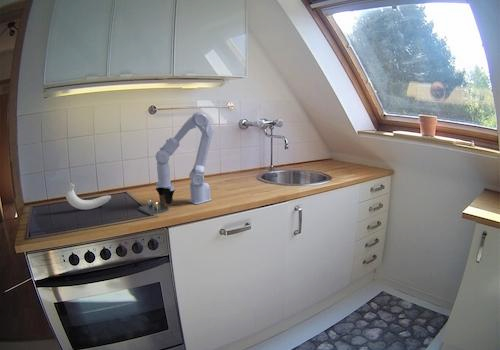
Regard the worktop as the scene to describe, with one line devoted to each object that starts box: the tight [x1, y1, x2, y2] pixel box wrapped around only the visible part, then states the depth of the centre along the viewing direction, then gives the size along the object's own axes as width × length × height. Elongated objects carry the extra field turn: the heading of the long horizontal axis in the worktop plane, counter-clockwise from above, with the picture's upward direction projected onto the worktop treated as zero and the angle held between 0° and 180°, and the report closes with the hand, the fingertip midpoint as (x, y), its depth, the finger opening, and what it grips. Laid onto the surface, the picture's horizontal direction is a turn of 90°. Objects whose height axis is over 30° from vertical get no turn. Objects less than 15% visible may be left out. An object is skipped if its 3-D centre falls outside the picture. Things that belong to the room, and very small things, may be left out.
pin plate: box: [138, 198, 170, 216], centre depth 153 cm, size 9×12×4 cm
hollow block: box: [158, 194, 174, 208], centre depth 159 cm, size 5×5×5 cm
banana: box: [65, 182, 112, 211], centre depth 156 cm, size 5×19×15 cm, turn 123°
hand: (166, 202), depth 159 cm, fingers closed on hollow block, 5 cm apart
